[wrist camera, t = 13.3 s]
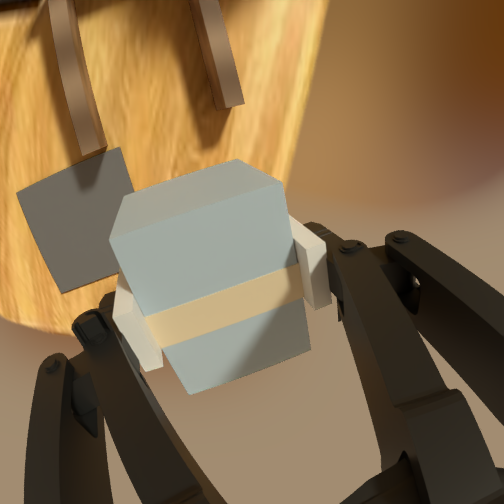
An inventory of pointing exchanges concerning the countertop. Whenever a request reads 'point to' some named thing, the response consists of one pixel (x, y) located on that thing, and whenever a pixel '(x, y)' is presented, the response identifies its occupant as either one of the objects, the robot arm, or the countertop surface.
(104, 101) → the countertop surface
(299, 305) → the block
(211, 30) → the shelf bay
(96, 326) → the robot arm
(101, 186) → the mat
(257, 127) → the countertop surface
